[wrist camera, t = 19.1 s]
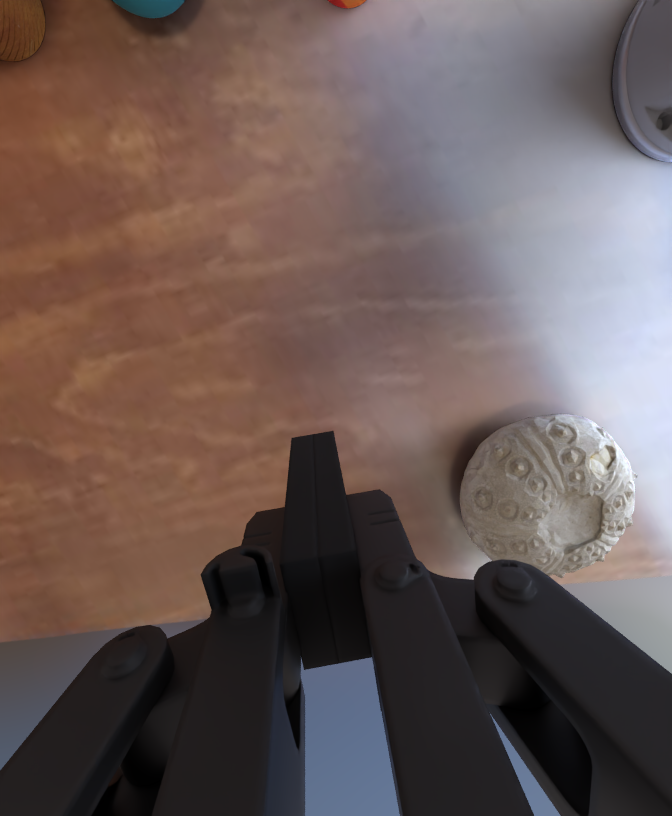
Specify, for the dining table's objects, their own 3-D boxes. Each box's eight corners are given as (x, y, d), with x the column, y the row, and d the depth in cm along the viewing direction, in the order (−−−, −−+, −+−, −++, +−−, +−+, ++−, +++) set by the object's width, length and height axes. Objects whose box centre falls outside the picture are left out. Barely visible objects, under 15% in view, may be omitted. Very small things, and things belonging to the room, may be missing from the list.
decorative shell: (464, 394, 41) (512, 425, 32) (613, 409, 43) (700, 443, 34) (433, 535, 47) (466, 598, 37) (568, 543, 48) (633, 605, 39)
